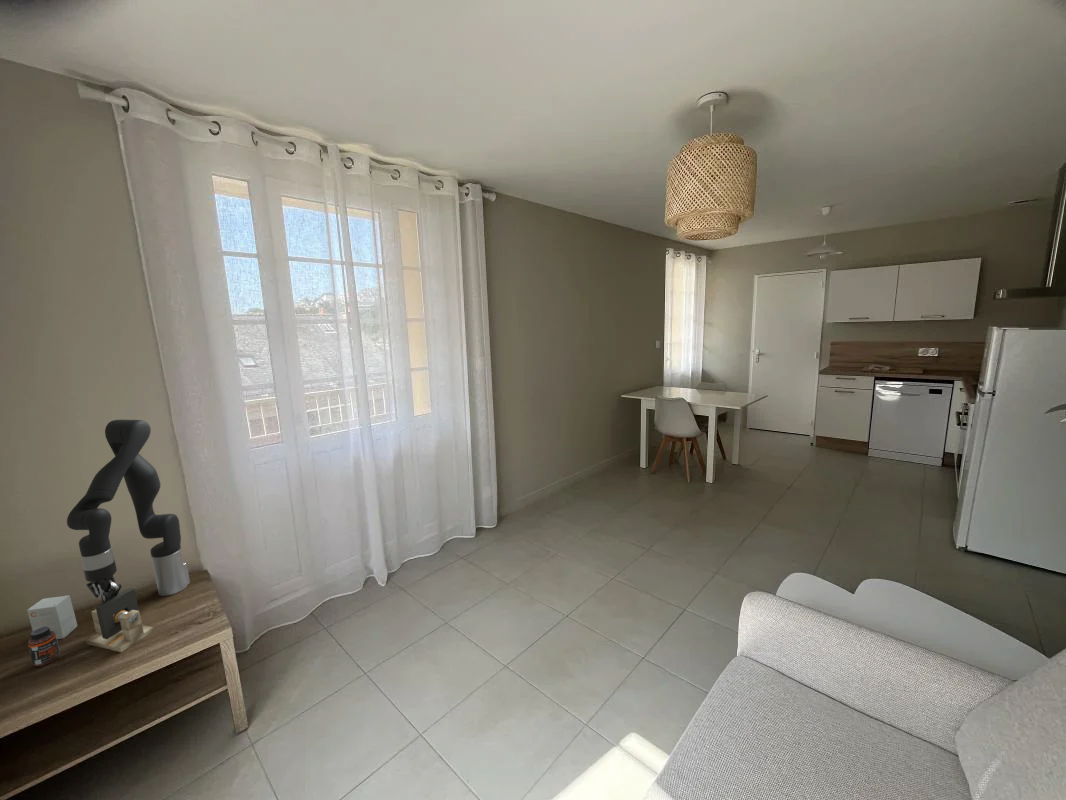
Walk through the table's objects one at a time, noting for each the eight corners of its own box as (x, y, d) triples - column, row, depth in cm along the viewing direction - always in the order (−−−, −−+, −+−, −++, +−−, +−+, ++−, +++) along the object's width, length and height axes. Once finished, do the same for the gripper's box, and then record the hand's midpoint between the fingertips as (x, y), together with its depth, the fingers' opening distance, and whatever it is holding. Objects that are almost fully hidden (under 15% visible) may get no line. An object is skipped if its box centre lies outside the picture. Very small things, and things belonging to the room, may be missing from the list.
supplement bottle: (41, 669, 133) (33, 638, 130) (28, 666, 134) (19, 636, 132) (65, 654, 138) (58, 625, 136) (52, 651, 139) (45, 622, 137)
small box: (78, 626, 151) (70, 594, 149) (63, 638, 145) (55, 606, 143) (50, 629, 149) (42, 598, 147) (34, 643, 143) (25, 610, 141)
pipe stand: (120, 623, 152) (114, 597, 150) (153, 630, 149) (148, 604, 147) (86, 644, 143) (80, 616, 141) (121, 652, 139) (115, 624, 137)
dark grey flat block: (136, 617, 150) (130, 588, 147) (140, 618, 149) (134, 588, 147) (102, 638, 140) (95, 606, 138) (107, 639, 140) (99, 607, 137)
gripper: (126, 559, 143) (135, 603, 146) (98, 554, 146) (107, 598, 149) (100, 572, 136) (110, 618, 139) (70, 567, 139) (81, 612, 142)
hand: (109, 607), depth 144 cm, fingers closed
